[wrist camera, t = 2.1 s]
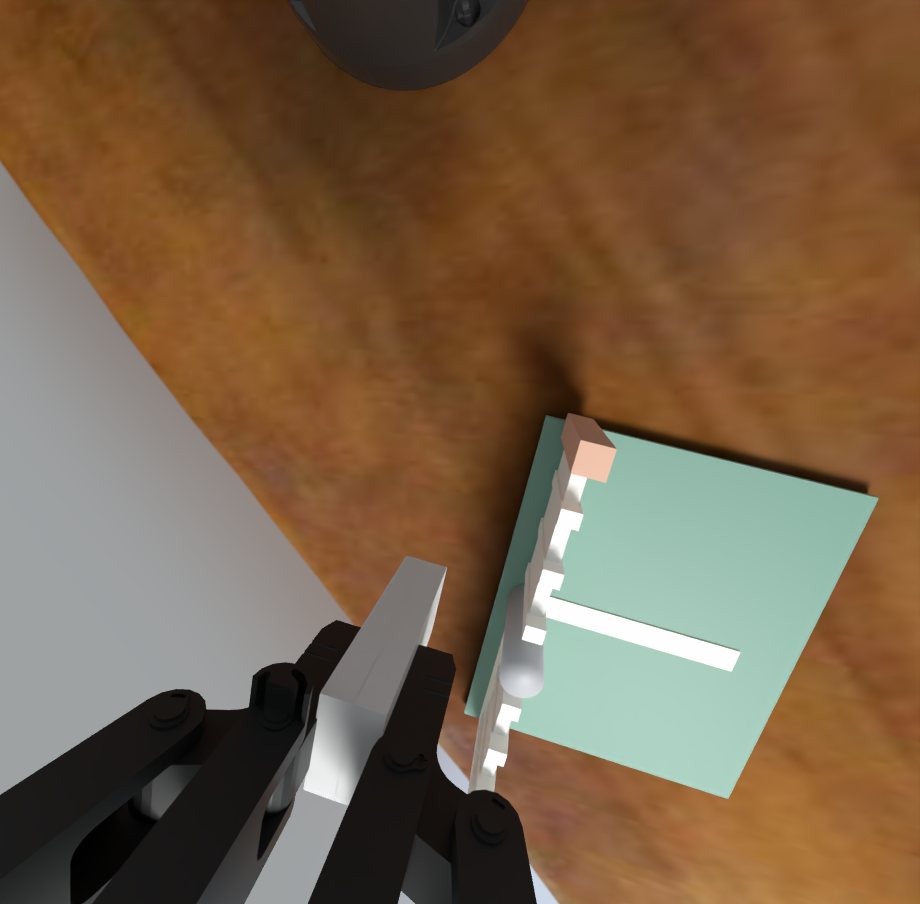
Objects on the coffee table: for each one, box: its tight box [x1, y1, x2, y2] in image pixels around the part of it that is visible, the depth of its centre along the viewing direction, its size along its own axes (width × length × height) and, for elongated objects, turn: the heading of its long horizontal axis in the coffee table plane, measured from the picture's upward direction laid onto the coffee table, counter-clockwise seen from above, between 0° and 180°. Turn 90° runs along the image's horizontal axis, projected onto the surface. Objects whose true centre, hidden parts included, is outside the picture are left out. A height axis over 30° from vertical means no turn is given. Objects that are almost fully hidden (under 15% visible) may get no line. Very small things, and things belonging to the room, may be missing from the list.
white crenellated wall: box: [522, 413, 617, 645], centre depth 25 cm, size 12×2×8 cm, turn 168°
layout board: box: [464, 415, 879, 799], centre depth 31 cm, size 24×20×1 cm
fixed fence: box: [468, 584, 544, 794], centre depth 30 cm, size 13×2×8 cm, turn 168°
